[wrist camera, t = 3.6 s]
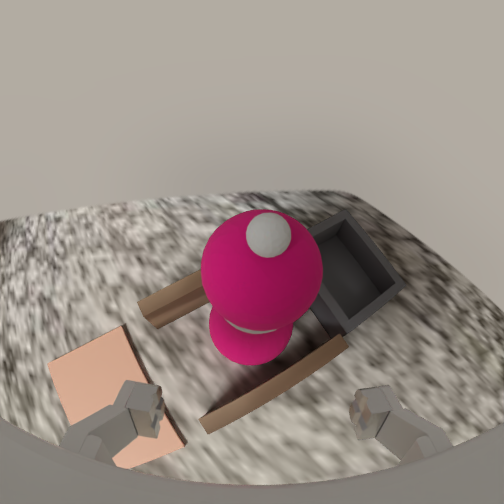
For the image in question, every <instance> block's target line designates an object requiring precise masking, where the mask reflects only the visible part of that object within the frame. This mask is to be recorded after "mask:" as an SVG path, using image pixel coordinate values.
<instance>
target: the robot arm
mask: <svg viewBox="0 0 504 504" xmlns="http://www.w3.org/2000/svg"><path fill="white" fill-rule="evenodd" d="M161 395H162V389H161V386H159V385H153V384H147V383H142V382H136V381H131V380H126V381H125V382H124V383H123V385H122V387H121V389H120V391H119V393H118V395H117V397H116V399H115V401H114V403H113V405H108V406H106V407H104V408H102V409H101V410H99V411H97V412H95V413H94V414H92V415H90V416H88V417H86V418H84V419H83V420H81V421H79V422H77V423H75V424H73V425H71V426H70V427H69V428H68V430H67V432H66V434H65V436H64V438H63V439H62V441H61V443H60V445H59V446H57V445H54V444H52V443H50V442H47V441H45V440H43V439H41V438H39V437H37V436H35V435H33V434H30V433H28V432H26V431H25V430H23V429H21V428H19V427H17V426H15V425H13V424H11V423H10V422H8V421H6V420H5V419H3V418H1V417H0V504H504V423H502V424H500V425H498V426H496V427H494V428H492V429H490V430H488V431H486V432H484V433H482V434H480V435H478V436H476V437H474V438H472V439H470V440H468V441H466V442H463V443H461V444H459V445H456V446H454V447H453V445H452V443H451V442H450V440H449V438H448V437H447V435H446V433H445V431H444V430H443V429H442V428H440V427H438V426H436V425H435V424H433V423H431V422H429V421H427V420H426V419H424V418H422V417H420V416H418V415H417V414H415V413H413V412H411V411H410V410H408V409H406V408H405V409H403V408H402V406H401V404H400V402H399V400H398V399H397V397H396V395H395V393H394V392H393V390H392V388H391V387H390V386H389V385H385V386H379V387H371V388H364V389H358V390H357V391H356V392H355V395H354V396H355V400H354V401H353V402H352V403H351V406H350V411H349V415H350V419H351V422H352V423H354V424H355V425H356V426H355V428H354V431H355V433H356V436H357V439H358V440H363V439H370V438H375V439H376V440H378V441H379V442H380V443H381V444H382V445H383V446H385V447H386V448H387V449H388V450H389V451H391V452H392V453H393V454H394V455H395V456H397V457H398V458H399V459H400V460H401V461H400V462H399V464H398V465H397V466H396V467H392V468H388V469H385V470H381V471H376V472H372V473H367V474H363V475H358V476H352V477H347V478H341V479H334V480H327V481H319V482H310V483H299V484H283V485H230V484H215V483H204V482H194V481H186V480H179V479H173V478H167V477H161V476H156V475H151V474H146V473H141V472H137V471H133V470H129V469H125V468H121V467H117V466H116V464H115V463H114V461H113V459H112V458H113V457H114V456H115V455H116V454H118V453H119V452H120V451H121V450H122V449H124V448H125V447H126V446H127V445H129V444H130V443H131V442H132V441H133V440H135V439H136V438H137V437H138V436H143V437H149V438H155V439H157V438H158V434H159V431H160V423H159V422H160V421H161V420H163V417H164V411H165V403H164V399H163V398H162V397H161Z"/></svg>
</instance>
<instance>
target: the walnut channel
mask: <svg viewBox="0 0 504 504" xmlns="http://www.w3.org/2000/svg"><path fill="white" fill-rule="evenodd" d="M209 302H210V301H209V300H208V298H207V296H206V293H205V290H204V288H203V285H202V278H201V269H200V270H198V271H196V272H194V273H193V274H191V275H189V276H187V277H185V278H183V279H181V280H179V281H177V282H175V283H173V284H171V285H169V286H167V287H165V288H163V289H162V290H160V291H158V292H156V293H154V294H152V295H150V296H148V297H146V298H144V299H142V300H140V301H138V302H137V303H138V305H139V308H140V310H141V312H142V314H143V317H145V318H146V319H147V320H148V321H149V322H150V323H151V324H152V325H154V326H155V327H156V328H157V329H159V328H161V327H163V326H165V325H167V324H169V323H171V322H173V321H174V320H176V319H178V318H180V317H182V316H184V315H186V314H188V313H190V312H192V311H193V310H195V309H197V308H199V307H201V306H203V305H205V304H207V303H209ZM348 347H349V346H348V345H347V343H346V342H345V340H344V339H343V337H342V336H341V334H340V333H339V334H338V335H336V336H335V337H333V338H332V339H330V340H328V341H327V342H325V343H324V344H322V345H321V346H319V347H318V348H316V349H315V350H314V351H312V352H311V353H309V354H308V355H306V356H305V357H303V358H302V359H300V360H299V361H297V362H296V363H294V364H292V365H291V366H289V367H288V368H286V369H285V370H283V371H281V372H280V373H278V374H277V375H275V376H273V377H272V378H270V379H268V380H267V381H265V382H263V383H262V384H260V385H258V386H257V387H255V388H253V389H252V390H250V391H248V392H246V393H245V394H243V395H241V396H239V397H237V398H236V399H234V400H232V401H230V402H228V403H226V404H225V405H223V406H221V407H219V408H217V409H215V410H213V411H211V412H209V413H207V414H205V415H204V416H202V417H201V418H200V419H198V420H199V421H200V423H201V424H202V426H203V428H204V429H205V431H206V432H207V434H210V433H212V432H214V431H216V430H218V429H220V428H222V427H224V426H226V425H228V424H230V423H232V422H233V421H235V420H237V419H239V418H241V417H243V416H245V415H246V414H248V413H250V412H252V411H253V410H255V409H257V408H259V407H260V406H262V405H264V404H265V403H267V402H269V401H270V400H272V399H274V398H275V397H277V396H279V395H280V394H282V393H283V392H285V391H287V390H288V389H290V388H291V387H293V386H294V385H296V384H297V383H299V382H300V381H302V380H303V379H305V378H306V377H308V376H309V375H311V374H312V373H314V372H315V371H317V370H318V369H320V368H321V367H322V366H324V365H325V364H327V363H328V362H329V361H331V360H332V359H333V358H335V357H336V356H338V355H339V354H340V353H342V352H343V351H344V350H346V349H347V348H348Z"/></svg>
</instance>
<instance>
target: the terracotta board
mask: <svg viewBox="0 0 504 504" xmlns="http://www.w3.org/2000/svg"><path fill="white" fill-rule="evenodd" d="M48 367H49V370H50V373H51V376H52V379H53V382H54V385H55V388H56V390H57V393H58V396H59V398H60V401H61V403H62V406H63V408H64V410H65V413H66V415H67V417H68V420H69V422H70V424H71V425H73V424H75V423H77V422H79V421H81V420H83V419H84V418H86V417H88V416H90V415H92V414H94V413H95V412H97V411H99V410H101V409H102V408H104V407H106V406H108V405H113V403H114V401H115V399H116V397H117V395H118V393H119V391H120V389H121V387H122V385H123V383H124V382H125V381H126V380H131V381H136V382H142V383H147V384H149V383H148V381H147V379H146V377H145V375H144V373H143V371H142V369H141V366H140V364H139V362H138V360H137V358H136V356H135V354H134V352H133V349H132V347H131V345H130V343H129V340H128V338H127V336H126V334H125V331H124V329H123V327H122V326H120V327H118V328H116V329H114V330H112V331H110V332H108V333H106V334H104V335H102V336H100V337H99V338H97V339H95V340H93V341H91V342H89V343H87V344H85V345H83V346H81V347H79V348H77V349H75V350H73V351H71V352H69V353H67V354H65V355H63V356H62V357H60V358H58V359H56V360H54V361H52V362H50V363H48ZM159 423H160V431H159V434H158V438H157V439H155V438H149V437H143V436H138V437H137V438H136V439H135V440H133V441H132V442H131V443H130V444H129V445H127V446H126V447H125V448H124V449H122V450H121V451H120V452H119V453H118V454H116V455H115V456H114V457H113V458H112V459H113V461H114V463H115V464H116V466H117V467H121V468H125V469H129V468H132V467H135V466H138V465H140V464H143V463H146V462H148V461H151V460H154V459H156V458H159V457H161V456H164V455H166V454H169V453H171V452H173V451H176V450H178V449H180V448H183V447H185V445H184V443H183V442H182V440H181V439H180V437H179V435H178V434H177V432H176V431H175V429H174V427H173V426H172V424H171V422H170V421H169V419H168V417H167V415H166V414H165V412H164V417H163V420H161V421H160V422H159Z"/></svg>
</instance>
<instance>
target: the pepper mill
mask: <svg viewBox="0 0 504 504" xmlns="http://www.w3.org/2000/svg"><path fill="white" fill-rule="evenodd" d="M201 278H202V285H203V288H204V290H205V293H206V296H207V298H208V300H209V301H210V303H211V304H212V306H213V307H212V310H211V313H210V319H209V328H210V335H211V338H212V341H213V342H214V344H215V346H216V348H217V349H218V350H219V351H220V352H221V353H222V354H223V355H224V356H225V357H227V358H228V359H229V360H231V361H233V362H236V363H238V364H243V365H259V364H263V363H266V362H269V361H271V360H273V359H274V358H276V357H277V356H278V355H279V354H280V353H281V352H282V351H283V350H284V349H285V347H286V346H287V344H288V342H289V340H290V337H291V335H292V330H293V322H294V321H296V320H297V319H299V318H300V317H301V316H302V315H303V314H304V313H305V312H306V311H307V310H308V309H309V307H310V306H311V305H312V303H313V302H314V300H315V299H316V297H317V294H318V292H319V290H320V286H321V282H322V278H323V265H322V259H321V254H320V251H319V248H318V246H317V244H316V242H315V240H314V238H313V236H312V235H311V234H310V233H309V231H308V230H307V229H306V228H305V227H304V226H303V225H302V224H301V223H299V222H298V221H297V220H295V219H294V218H292V217H290V216H288V215H286V214H284V213H281V212H278V211H273V210H250V211H246V212H243V213H240V214H238V215H235V216H233V217H232V218H230V219H228V220H227V221H225V222H224V223H223V224H222V225H221V226H219V227H218V228H217V229H216V230H215V231H214V233H213V234H212V235H211V237H210V238H209V240H208V242H207V244H206V246H205V249H204V252H203V256H202V261H201Z"/></svg>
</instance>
